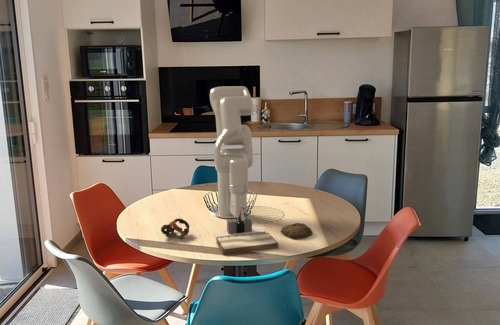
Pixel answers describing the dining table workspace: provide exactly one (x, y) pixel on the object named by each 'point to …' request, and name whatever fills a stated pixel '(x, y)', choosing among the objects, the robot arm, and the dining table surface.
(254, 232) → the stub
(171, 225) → the rusty gear assembly
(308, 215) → the dining table surface
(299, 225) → the bread roll
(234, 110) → the robot arm
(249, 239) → the light wooden flat board
